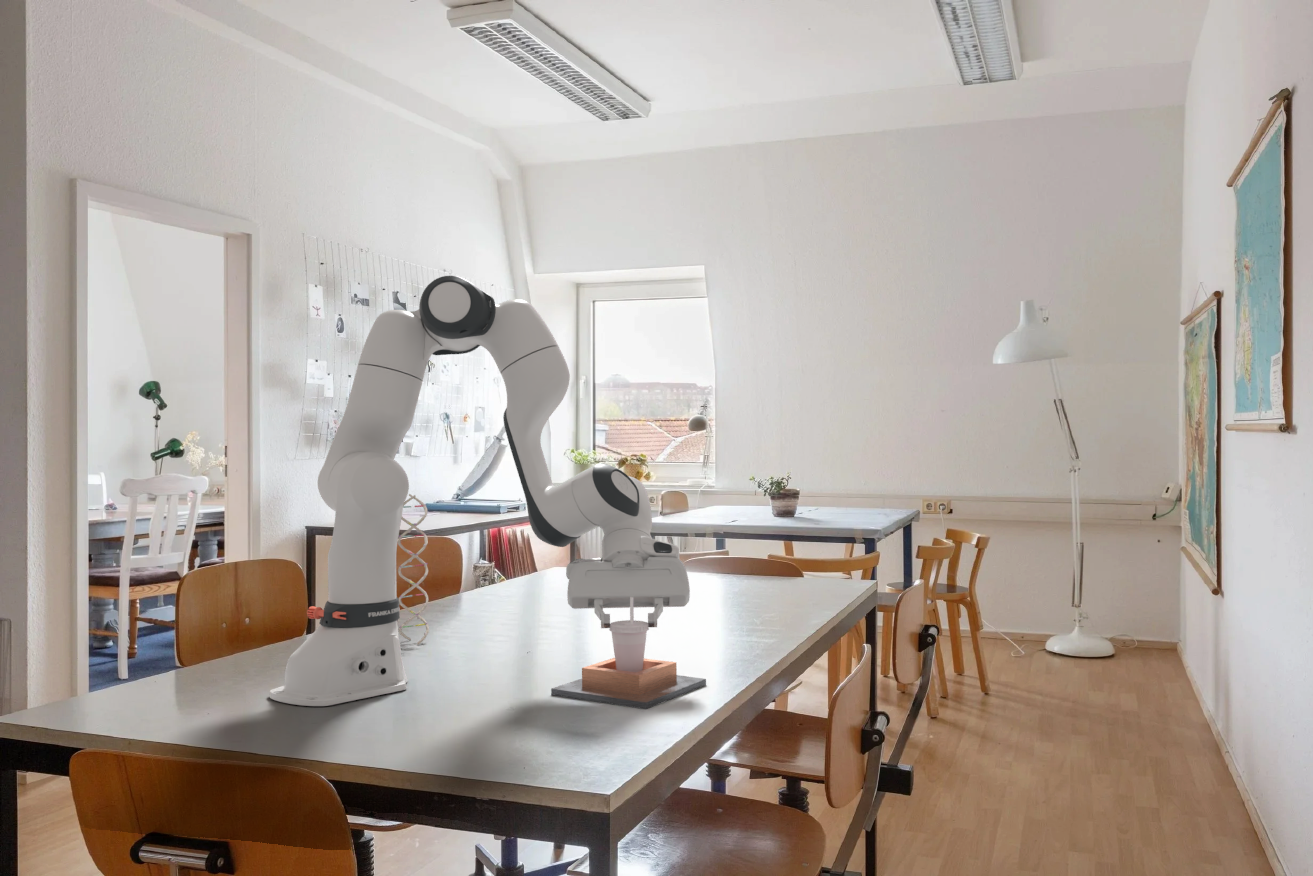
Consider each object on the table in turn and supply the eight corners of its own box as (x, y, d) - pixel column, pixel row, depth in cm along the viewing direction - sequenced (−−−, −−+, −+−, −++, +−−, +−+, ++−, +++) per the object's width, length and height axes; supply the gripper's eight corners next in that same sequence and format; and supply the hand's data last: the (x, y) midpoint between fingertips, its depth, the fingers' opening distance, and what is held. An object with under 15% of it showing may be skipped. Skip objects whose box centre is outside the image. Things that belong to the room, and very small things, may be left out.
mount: (645, 709, 157) (645, 682, 157) (551, 694, 167) (551, 669, 167) (706, 685, 172) (705, 660, 173) (616, 673, 182) (615, 650, 182)
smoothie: (635, 690, 166) (634, 601, 165) (602, 685, 169) (601, 598, 169) (656, 681, 171) (656, 595, 171) (623, 677, 174) (623, 592, 174)
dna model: (433, 643, 211) (432, 494, 211) (401, 646, 208) (399, 495, 209) (425, 638, 217) (424, 493, 217) (394, 641, 214) (392, 494, 215)
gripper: (565, 547, 176) (563, 615, 167) (687, 545, 177) (692, 613, 167) (567, 571, 181) (565, 638, 171) (685, 568, 182) (690, 635, 172)
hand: (629, 625), depth 169 cm, fingers closed on smoothie, 6 cm apart
